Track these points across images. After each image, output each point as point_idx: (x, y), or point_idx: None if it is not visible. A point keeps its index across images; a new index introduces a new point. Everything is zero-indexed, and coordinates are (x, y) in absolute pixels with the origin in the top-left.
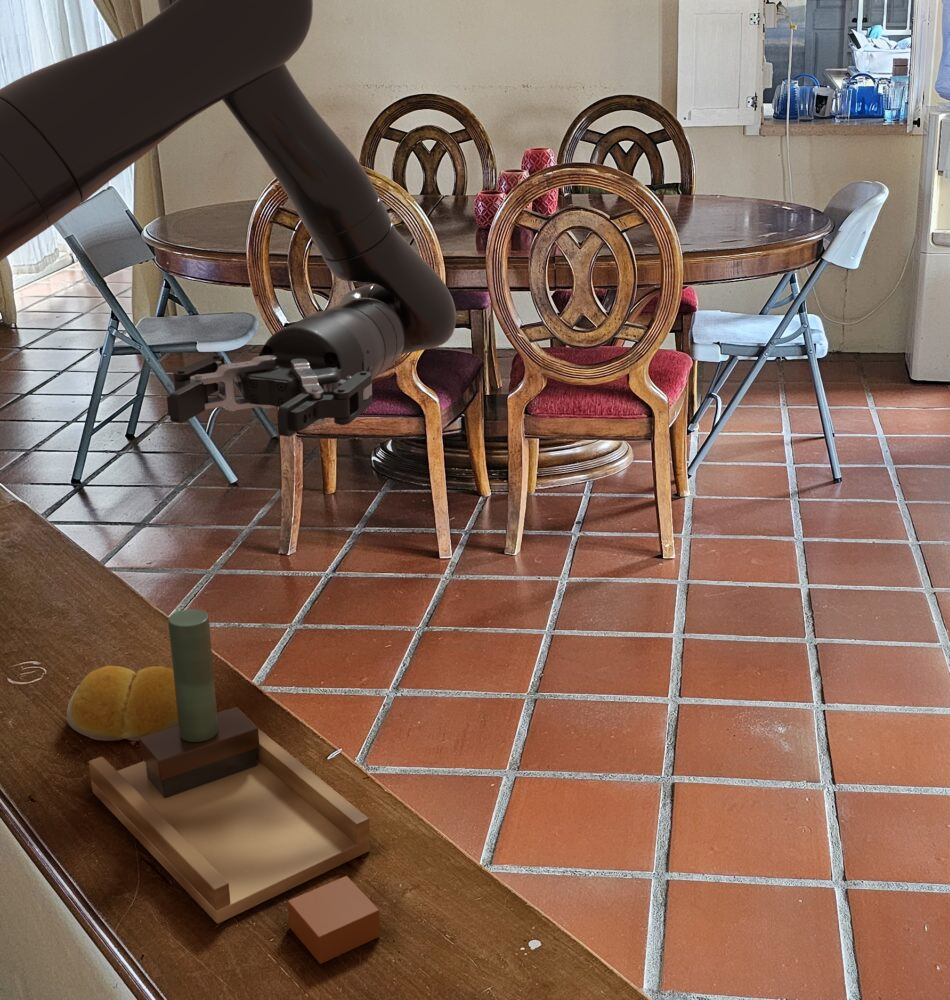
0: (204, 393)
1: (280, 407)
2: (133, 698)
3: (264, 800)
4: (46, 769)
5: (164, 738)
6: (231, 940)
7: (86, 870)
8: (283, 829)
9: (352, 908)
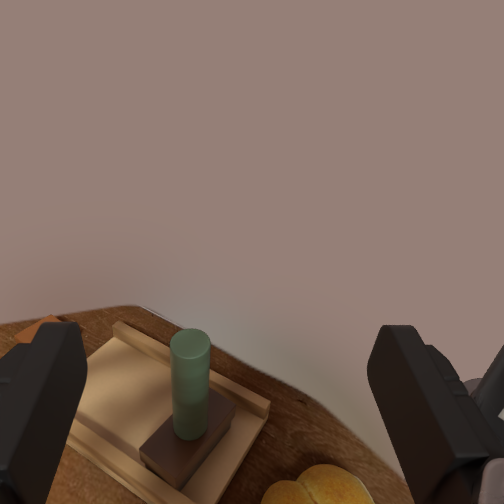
0: (453, 501)
1: (68, 324)
2: (300, 489)
3: (122, 426)
4: (322, 434)
5: (214, 408)
6: (109, 331)
7: (218, 355)
8: (97, 400)
9: (31, 333)
